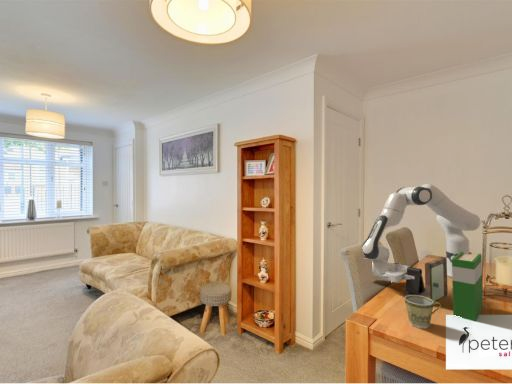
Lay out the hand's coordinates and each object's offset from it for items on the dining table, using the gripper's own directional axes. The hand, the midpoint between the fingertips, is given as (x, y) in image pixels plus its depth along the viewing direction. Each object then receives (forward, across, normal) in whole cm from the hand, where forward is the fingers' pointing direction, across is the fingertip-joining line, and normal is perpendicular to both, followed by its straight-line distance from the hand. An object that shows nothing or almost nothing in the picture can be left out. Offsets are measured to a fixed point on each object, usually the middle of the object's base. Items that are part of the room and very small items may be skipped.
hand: (416, 277), depth 139 cm
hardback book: (+23, -3, +9) cm, 24 cm away
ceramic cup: (+16, -30, +9) cm, 35 cm away
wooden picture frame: (+9, 0, +8) cm, 12 cm away
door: (+10, 0, +8) cm, 13 cm away
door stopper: (-1, 0, +8) cm, 8 cm away
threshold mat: (+3, 0, +8) cm, 9 cm away
